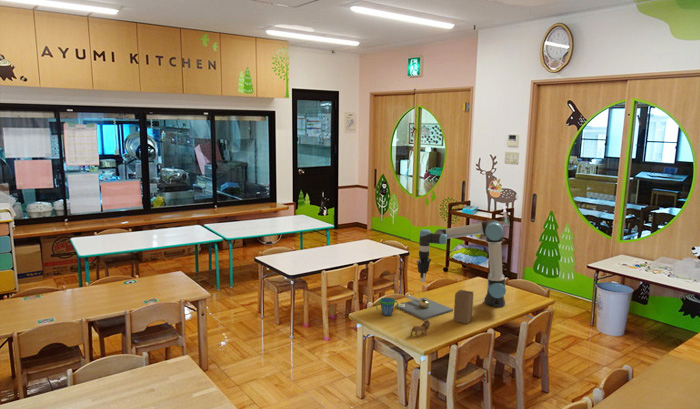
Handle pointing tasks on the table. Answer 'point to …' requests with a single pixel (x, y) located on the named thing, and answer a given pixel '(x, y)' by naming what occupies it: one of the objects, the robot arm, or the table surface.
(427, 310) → the dial plate
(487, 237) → the robot arm
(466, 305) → the wooden block
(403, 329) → the table surface
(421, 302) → the brass ladle
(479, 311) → the table surface
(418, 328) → the lion figurine
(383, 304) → the snack cup
